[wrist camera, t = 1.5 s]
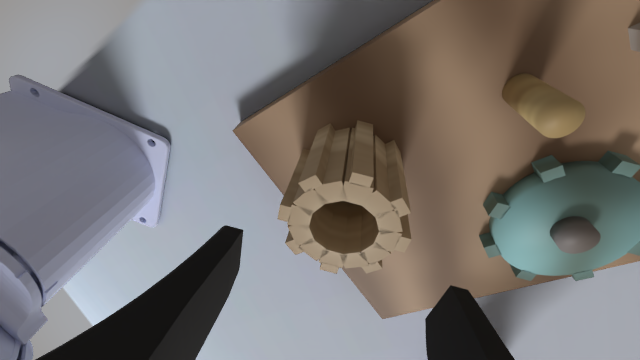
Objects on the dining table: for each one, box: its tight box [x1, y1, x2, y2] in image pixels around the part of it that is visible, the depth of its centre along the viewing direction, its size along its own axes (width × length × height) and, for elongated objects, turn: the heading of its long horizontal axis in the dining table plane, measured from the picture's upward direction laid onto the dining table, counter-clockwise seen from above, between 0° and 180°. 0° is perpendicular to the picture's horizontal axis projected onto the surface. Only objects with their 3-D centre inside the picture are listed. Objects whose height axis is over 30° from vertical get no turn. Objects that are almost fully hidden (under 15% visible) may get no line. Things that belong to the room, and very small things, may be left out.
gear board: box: [233, 0, 640, 319], centre depth 14 cm, size 26×18×5 cm
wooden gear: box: [278, 120, 412, 274], centre depth 15 cm, size 6×6×5 cm
